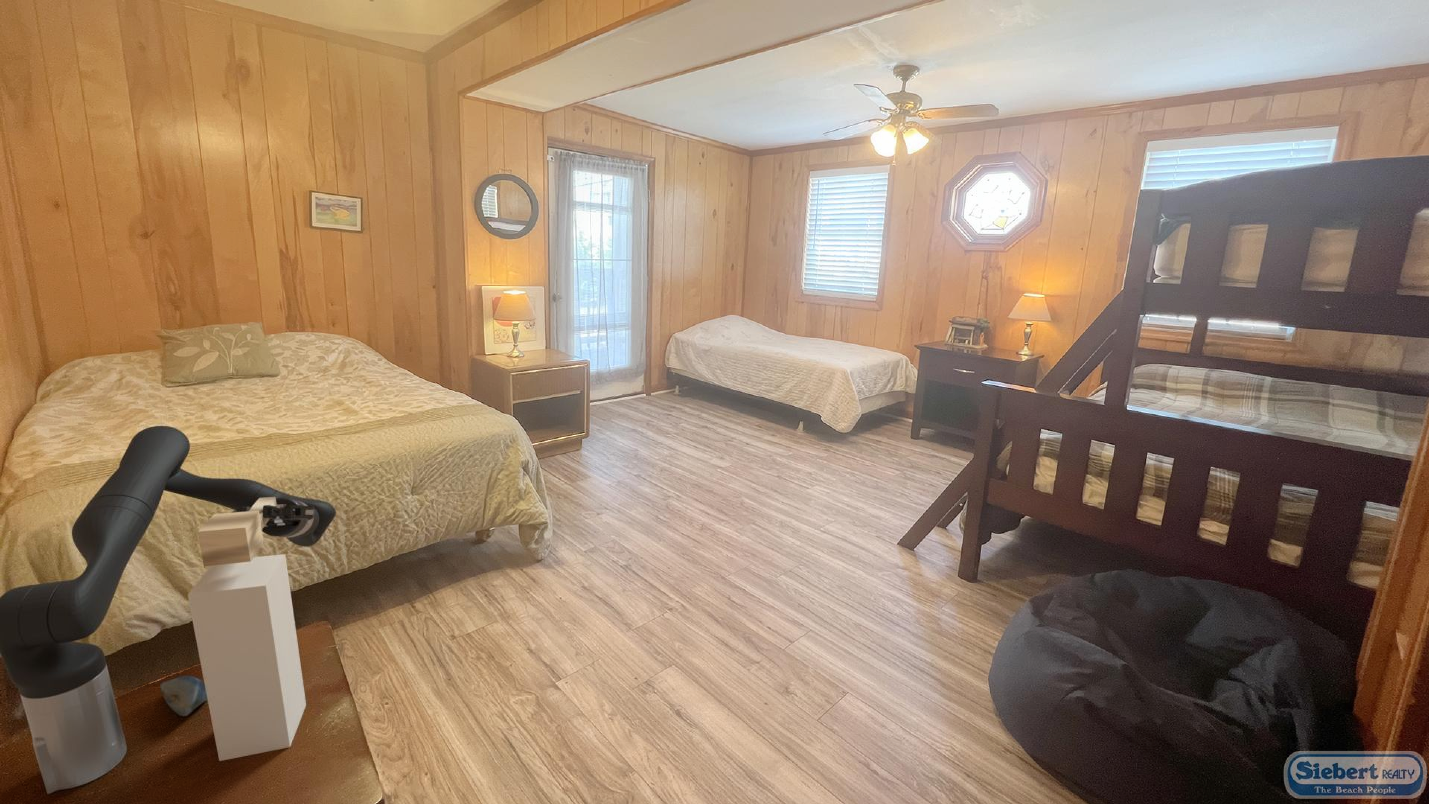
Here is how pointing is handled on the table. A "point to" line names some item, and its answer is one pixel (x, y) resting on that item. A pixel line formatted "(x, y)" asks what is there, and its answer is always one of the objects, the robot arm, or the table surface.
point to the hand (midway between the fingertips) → (254, 512)
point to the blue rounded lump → (184, 694)
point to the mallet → (234, 535)
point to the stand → (249, 655)
